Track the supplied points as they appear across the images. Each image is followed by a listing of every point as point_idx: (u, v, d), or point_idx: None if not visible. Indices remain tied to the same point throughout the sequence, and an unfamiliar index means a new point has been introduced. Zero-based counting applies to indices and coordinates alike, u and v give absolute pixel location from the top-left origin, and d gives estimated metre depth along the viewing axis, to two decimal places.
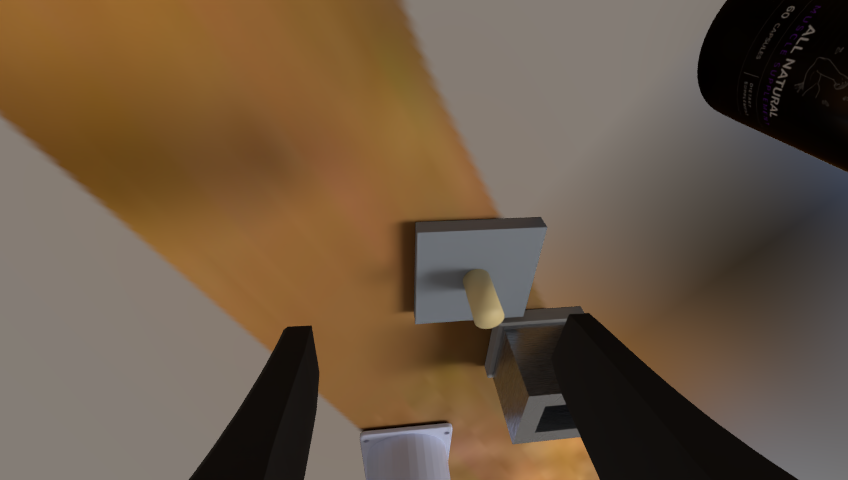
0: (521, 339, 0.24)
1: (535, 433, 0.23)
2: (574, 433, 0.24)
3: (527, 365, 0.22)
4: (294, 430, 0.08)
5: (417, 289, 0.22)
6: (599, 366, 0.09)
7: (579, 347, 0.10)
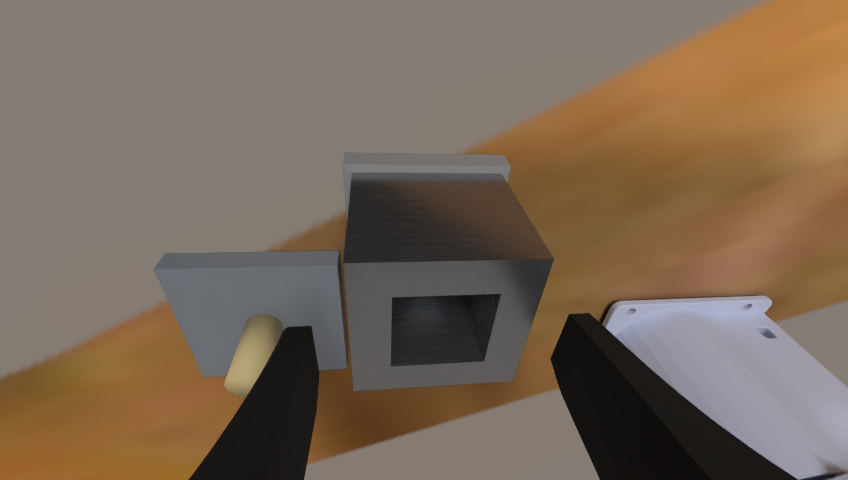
0: None
1: (489, 359, 0.12)
2: (521, 298, 0.11)
3: None
4: (294, 430, 0.08)
5: None
6: (599, 366, 0.09)
7: (579, 347, 0.10)
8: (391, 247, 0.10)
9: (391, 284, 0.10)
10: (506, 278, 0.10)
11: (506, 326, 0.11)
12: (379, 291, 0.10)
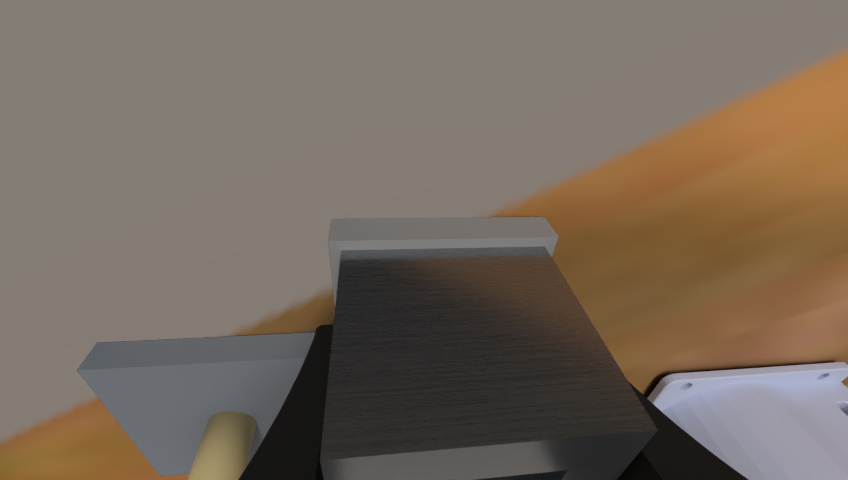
0: None
1: None
2: (597, 472, 0.07)
3: None
4: None
5: None
6: None
7: None
8: (398, 415, 0.06)
9: (399, 475, 0.06)
10: (579, 455, 0.06)
11: None
12: None
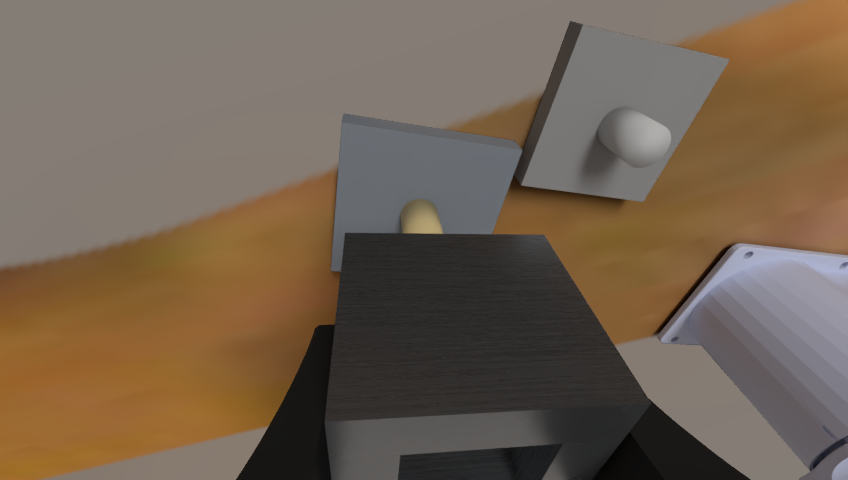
0: None
1: None
2: (591, 447, 0.07)
3: None
4: None
5: None
6: None
7: None
8: (401, 383, 0.06)
9: (400, 441, 0.06)
10: (575, 427, 0.07)
11: (562, 475, 0.08)
12: (381, 450, 0.06)
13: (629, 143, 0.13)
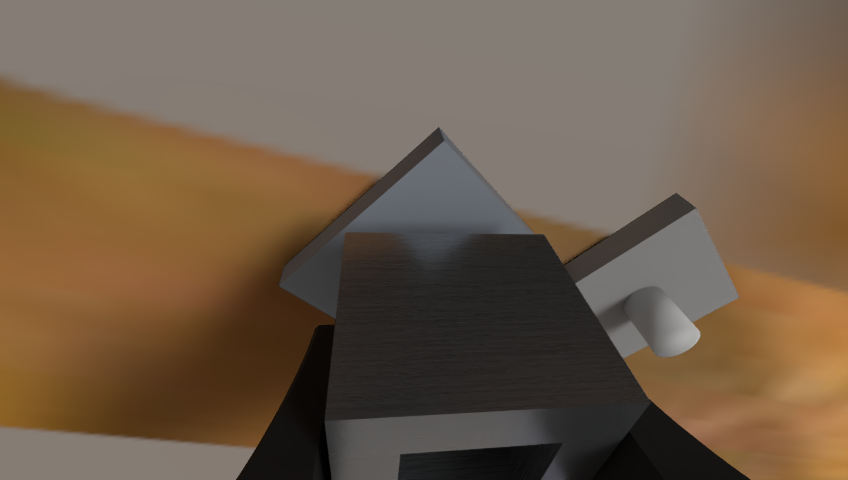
0: None
1: None
2: (591, 446, 0.07)
3: None
4: None
5: None
6: None
7: None
8: (401, 382, 0.06)
9: (400, 440, 0.06)
10: (575, 426, 0.07)
11: (562, 474, 0.08)
12: (381, 449, 0.06)
13: (670, 333, 0.13)
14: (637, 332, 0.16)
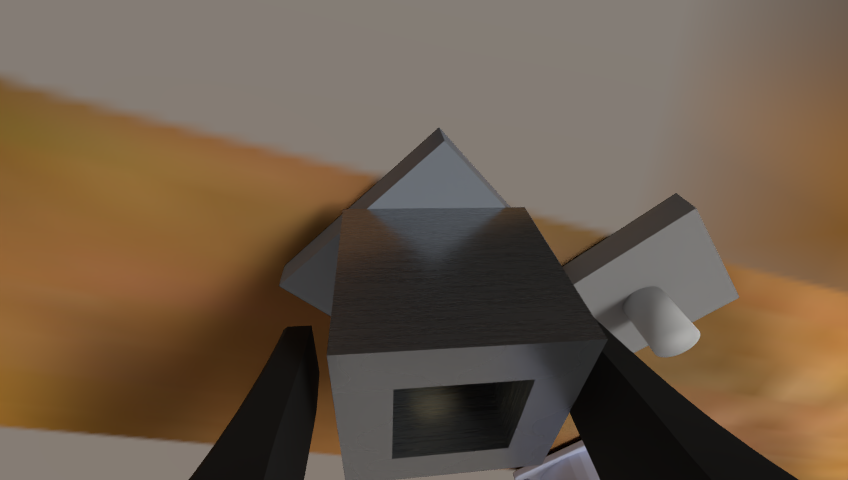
0: None
1: (514, 446, 0.10)
2: (561, 384, 0.08)
3: None
4: (294, 430, 0.08)
5: None
6: (599, 366, 0.09)
7: None
8: (392, 326, 0.07)
9: (392, 376, 0.07)
10: (543, 363, 0.08)
11: (539, 412, 0.09)
12: (376, 384, 0.07)
13: (670, 333, 0.13)
14: (637, 332, 0.16)
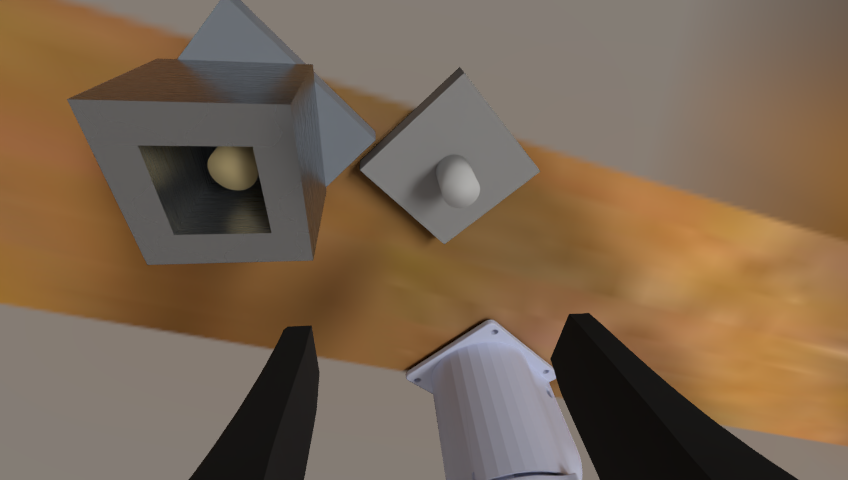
0: None
1: (276, 231, 0.12)
2: (277, 154, 0.11)
3: None
4: (294, 430, 0.08)
5: None
6: (599, 366, 0.09)
7: (579, 347, 0.10)
8: (131, 93, 0.10)
9: (130, 128, 0.10)
10: (249, 127, 0.10)
11: (276, 189, 0.12)
12: (121, 137, 0.10)
13: (450, 180, 0.15)
14: None
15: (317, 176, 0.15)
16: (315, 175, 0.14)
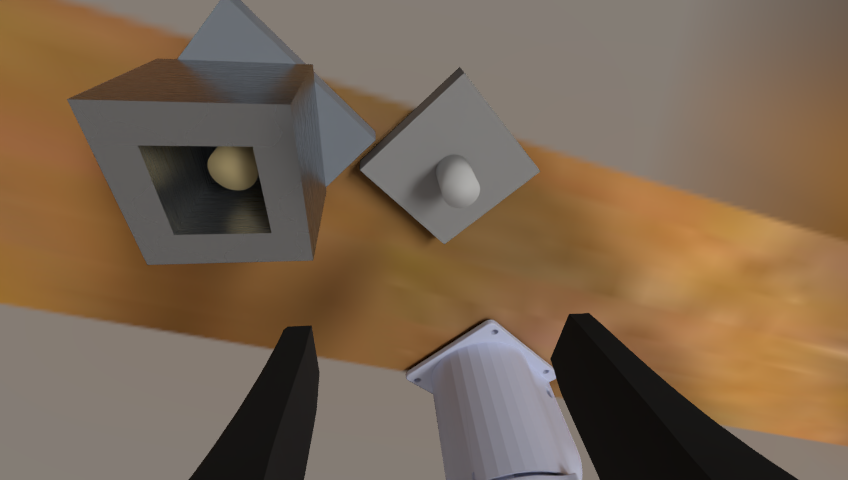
0: None
1: (276, 231, 0.12)
2: (277, 154, 0.11)
3: None
4: (294, 430, 0.08)
5: None
6: (599, 366, 0.09)
7: (579, 347, 0.10)
8: (131, 93, 0.10)
9: (130, 128, 0.10)
10: (249, 127, 0.10)
11: (276, 189, 0.12)
12: (121, 137, 0.10)
13: (450, 180, 0.15)
14: None
15: (317, 176, 0.15)
16: (315, 175, 0.14)
